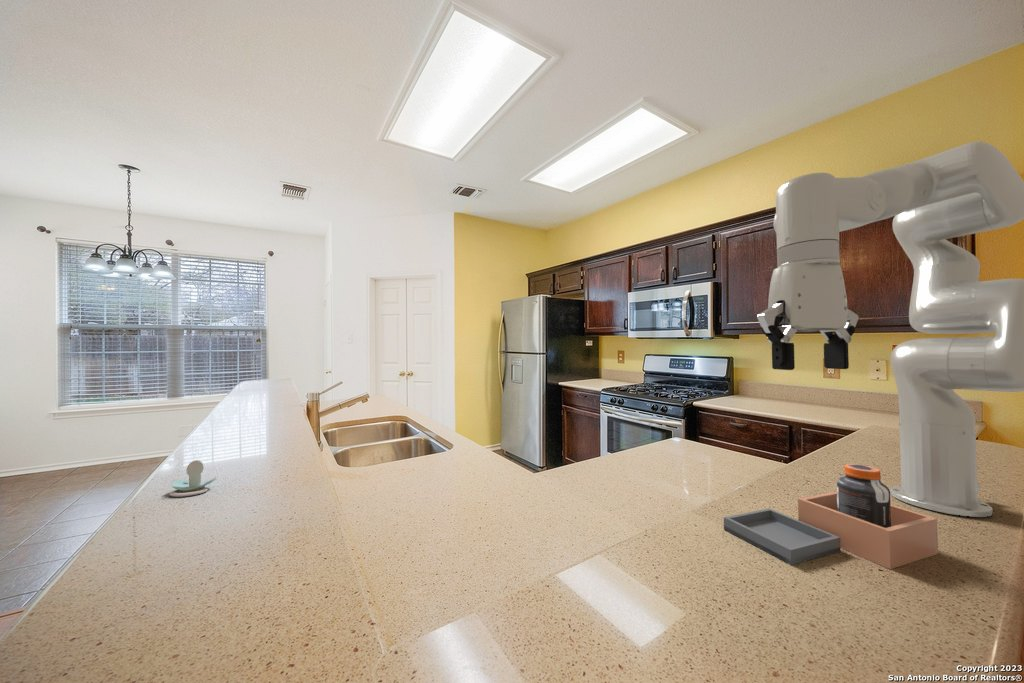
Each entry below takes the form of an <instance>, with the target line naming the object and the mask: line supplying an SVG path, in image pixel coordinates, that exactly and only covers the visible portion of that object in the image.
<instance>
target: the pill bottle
mask: <svg viewBox="0 0 1024 683" xmlns="http://www.w3.org/2000/svg"><path fill="white" fill-rule="evenodd" d="M844 474H845V476H841V477H839V478H838V479H837V480H836V491H837V509H838V511H839V512H841V513H844V514H847V515H850V516H853V517H856V518H858V519H861V520H864V521H867V522H870V523H873V524H875V525H878V526H881V527H884V528H888V527H891V508H890V504H891V491H890V489H889V487H888V486H887V485H885V484H884V483H883V482H882V481H881V479H882V477H881V470H880V469H878V468H876V467H873V466H868V465H866V464H865V465H864V464H858V463H847V464H846V463H845V464H844Z"/></svg>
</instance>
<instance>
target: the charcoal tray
mask: <svg viewBox="0 0 1024 683" xmlns="http://www.w3.org/2000/svg"><path fill="white" fill-rule="evenodd" d="M723 530H724V531H726V532H728V533H729V532H730V533H729V534H732V535H733V536H735V537H737V538H738V539H741V540H743V541H745V542H747V543H749V544H751V545H752V546H754V547H756V548H758V549H760V550H762V551H763V552H766V553H767V554H769V555H771V556H773V557H775V558H777V559H779V560H780V561H782V562H785V563H786V564H788V565H791V566H792V565H797V564H800V563H804V562H808V561H810V560H814V559H818V558H822V557H825V556H830V555H832V554H837V553H840V552H841V551H842V550H841V549H842V548H841V545H840V537H838V536H836V535H833V534H831V533H828V532H826V531H823V530H821V529H819V528H816V527H814V526H811V525H809V524H806V523H804V522H801V521H799V520H798V518H794V517H792V516H789V515H787V514H784V513H782V512H779V511H777V510H776V509H775V510H774V509H772V508H769V507H768V508H765V509H764V508H763V509H760V510H754V511H749V512H743V513H739V514H733V515H728V516H724V517H723Z"/></svg>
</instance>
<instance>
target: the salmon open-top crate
mask: <svg viewBox="0 0 1024 683" xmlns="http://www.w3.org/2000/svg"><path fill="white" fill-rule="evenodd" d="M890 508H891V527H888V528H884V527H881V526H878V525H875V524H873V523H870V522H867V521H864V520H861V519H858V518H856V517H853V516H850V515H847V514H844V513H841V512H839V511H838V509H837V490H836V491H832V492H826V493H821V494H815V495H810V496H806V497H805V496H804V497H801V498H797V514H798V518H797V520H799V521H801V522H804V523H806V524H809V525H811V526H814V527H816V528H819V529H821V530H823V531H826V532H828V533H831V534H833V535H836V536H838V537H840V545H841V549H842V550H845V551H847V552H848V553H851V554H854V555H856V556H859V557H861V558H863V559H866V560H868V561H870V562H872V563H875V564H877V565H879V566H882V567H883V568H886V569H889V570H893V569H895V568H898V567H902V566H904V565H908V564H912V563H915V562H917V561H920V560H922V559H923V560H924V559H926V558H929V557H933V556H936V555H939V541H938V540H939V537H938V532H939V531H938V518H936V517H933V516H930V515H927V514H925V513H920V512H917V511H913V510H911V509H906V508H904V507H900V506H898V505H894V504H891V503H890Z"/></svg>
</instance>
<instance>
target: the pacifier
mask: <svg viewBox="0 0 1024 683" xmlns="http://www.w3.org/2000/svg"><path fill="white" fill-rule="evenodd" d="M204 469H205V464H204V463H203V462H202V461H201V460H193V461H191V462H189V463H188V465H187V466H186V474H187V476H188V480H186V479H175V480H174V481H173V482H172V484H171V486H172V488H173V489H175V490H173V491H171V492H169V496H171V497H173V498H174V497H176V498H177V497H178V498H181V497H189V496H191V497H192V496H196V495H201V494H203V493H205V492H207V491H208V490H209V488H208V487H206V486H207V485H209V484H211V483H212V482H214V481H215V480H216V479H217V477H214V478H211V479H209V480H207V481H203V482H202V473H203V472H204Z"/></svg>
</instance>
